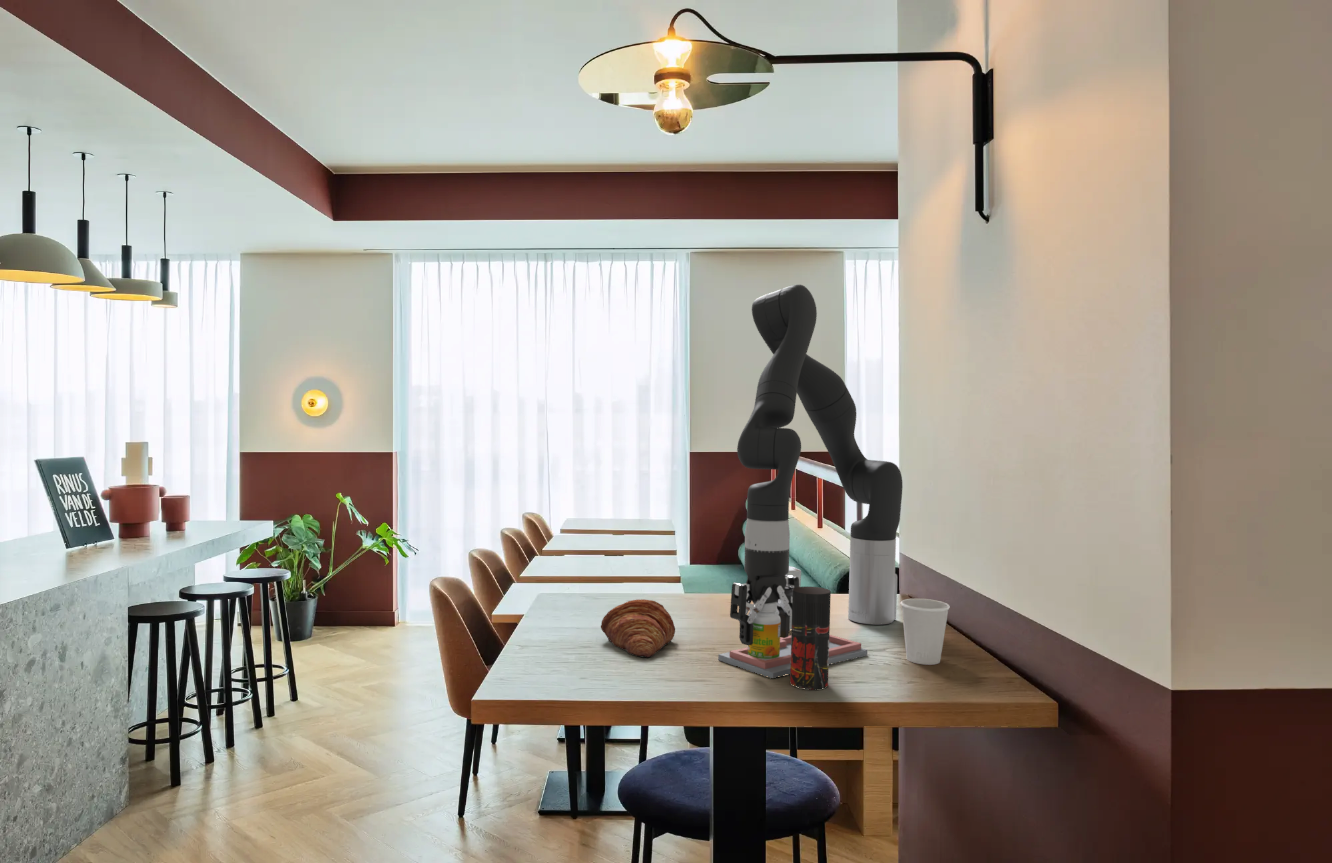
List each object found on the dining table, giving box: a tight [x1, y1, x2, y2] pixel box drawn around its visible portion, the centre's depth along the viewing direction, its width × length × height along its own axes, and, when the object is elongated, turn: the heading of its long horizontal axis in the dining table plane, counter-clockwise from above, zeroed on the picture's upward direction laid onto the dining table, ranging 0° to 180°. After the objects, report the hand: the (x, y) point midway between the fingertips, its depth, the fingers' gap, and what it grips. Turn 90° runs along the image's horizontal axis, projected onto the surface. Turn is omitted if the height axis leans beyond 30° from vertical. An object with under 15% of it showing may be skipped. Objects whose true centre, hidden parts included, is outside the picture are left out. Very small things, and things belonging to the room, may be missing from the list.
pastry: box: [600, 598, 676, 659], centre depth 163 cm, size 17×15×8 cm
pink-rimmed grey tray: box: [717, 634, 868, 679], centre depth 155 cm, size 24×13×2 cm, turn 129°
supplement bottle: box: [747, 602, 781, 661], centre depth 151 cm, size 5×5×10 cm
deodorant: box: [789, 586, 831, 691], centre depth 140 cm, size 6×6×15 cm
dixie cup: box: [900, 598, 951, 666], centre depth 156 cm, size 8×8×10 cm
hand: (764, 640), depth 151 cm, fingers open, 8 cm apart
